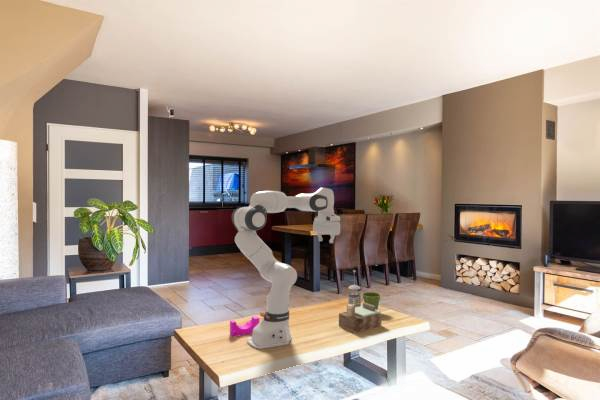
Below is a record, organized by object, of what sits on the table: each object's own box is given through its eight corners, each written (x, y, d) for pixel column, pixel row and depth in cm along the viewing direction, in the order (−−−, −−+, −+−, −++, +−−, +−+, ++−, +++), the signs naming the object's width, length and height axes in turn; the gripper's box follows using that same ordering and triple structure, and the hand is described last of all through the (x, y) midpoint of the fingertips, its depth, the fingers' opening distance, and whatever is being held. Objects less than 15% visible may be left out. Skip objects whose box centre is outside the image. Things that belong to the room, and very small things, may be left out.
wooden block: (350, 328, 202) (350, 306, 202) (346, 326, 205) (346, 304, 205) (354, 326, 204) (355, 305, 204) (350, 325, 207) (351, 303, 207)
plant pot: (378, 309, 239) (379, 291, 239) (382, 315, 227) (383, 297, 227) (360, 308, 239) (360, 291, 239) (363, 315, 227) (363, 296, 227)
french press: (354, 305, 247) (354, 268, 246) (367, 310, 237) (367, 270, 237) (343, 308, 241) (343, 269, 241) (356, 312, 232) (356, 272, 231)
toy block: (254, 328, 205) (254, 314, 205) (259, 332, 199) (259, 318, 199) (228, 333, 198) (228, 319, 197) (232, 337, 192) (232, 322, 192)
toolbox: (354, 333, 198) (355, 319, 197) (338, 326, 208) (338, 313, 208) (381, 325, 209) (381, 313, 209) (364, 319, 220) (364, 307, 220)
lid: (363, 317, 201) (363, 310, 201) (347, 311, 212) (347, 305, 212) (380, 312, 208) (380, 306, 208) (364, 307, 219) (364, 301, 219)
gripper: (310, 216, 213) (310, 240, 213) (333, 218, 196) (333, 244, 196) (319, 215, 217) (318, 239, 217) (342, 217, 200) (342, 243, 200)
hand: (325, 241), depth 206 cm, fingers open, 8 cm apart
